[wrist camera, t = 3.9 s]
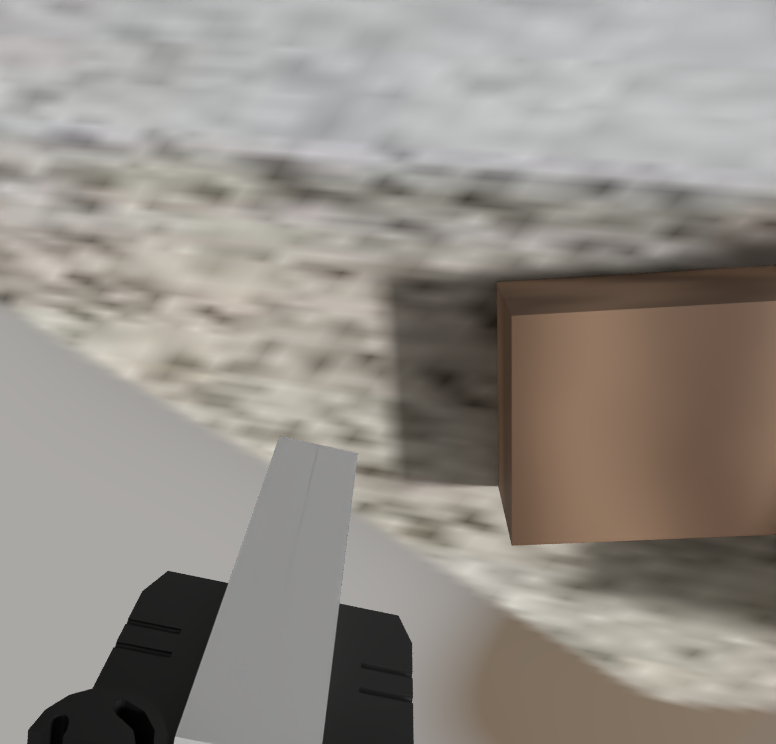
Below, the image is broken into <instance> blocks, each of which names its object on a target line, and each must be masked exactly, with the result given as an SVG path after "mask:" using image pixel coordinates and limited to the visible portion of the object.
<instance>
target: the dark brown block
mask: <svg viewBox="0 0 776 744" xmlns="http://www.w3.org/2000/svg"><path fill="white" fill-rule="evenodd" d="M497 370H498V487H499V491H500V495H501V500H502V504H503V509H504V513H505V518H506V522H507V526H508V531H509V535H510V540H511V544H512V546H513V545H537V544H561V543H585V542H610V541H634V540H658V539H682V538H706V537H730V536H755V535H776V265H772V266H755V267H738V268H721V269H704V270H687V271H671V272H654V273H637V274H620V275H603V276H586V277H570V278H553V279H536V280H519V281H502V282H497Z"/></svg>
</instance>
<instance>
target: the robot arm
mask: <svg viewBox="0 0 776 744" xmlns="http://www.w3.org/2000/svg"><path fill="white" fill-rule="evenodd" d="M357 455H358V453H354V452H349V451H345V450H340V449H336V448H331V447H327V446H322V445H317V444H313V443H308V442H304V441H299V440H295V439H290V438H286V437H281V436H280V437H279V439H278V442H277V445H276V448H275V451H274V454H273V457H272V460H271V462H270V465H269V468H268V471H267V474H266V477H265V480H264V483H263V485H262V488H261V491H260V494H259V497H258V500H257V503H256V505H255V508H254V511H253V514H252V517H251V520H250V523H249V526H248V528H247V531H246V534H245V537H244V540H243V543H242V546H241V549H240V552H239V555H238V557H237V560H236V563H235V566H234V569H233V572H232V574H231V577H230V580H229V583H225V582H220V581H215V580H210V579H205V578H200V577H195V576H190V575H186V574H181V573H176V572H171V571H167V572H166V573H165V574H164V575H162V576H161V577H160V578H158V580H156V581H155V582H153V583H152V584H151V585H150V586H148V587H147V588H146V589H145V590H144V591H142V593H141V595H140V597H139V599H138V601H137V603H136V605H135V607H134V609H133V611H132V613H131V615H130V617H129V618H128V622H127V624H125V626H124V628H123V630H122V632H121V634H120V636H119V638H118V640H117V643H116V646H115V648H113V650H112V652H111V653H110V655H109V657H108V659H107V661H106V663H105V666H104V667H103V669H102V671H101V673H100V675H99V677H98V679H97V681H96V683H95V685H94V687H93V689H89V690H86V691H82V692H78V693H75V694H71V695H69V696H67V697H65V698H64V699H62V700H60V701H59V702H57V703H55V704H54V705H53V706H50V707H49V708H47V709H46V710H45V711H44V712H43V713H42V714H41V716H40V717H39V718H38V719H37V720H36V721H35V723H34V724H33V725H32V726H31V727H30V729H29V730H28V743H27V744H414V741H413V703H412V698H413V680H412V642H411V640H410V638H409V636H408V634H407V632H406V630H405V628H404V626H403V624H402V622H401V620H400V618H399V616H397V615H393V614H388V613H383V612H378V611H373V610H368V609H363V608H358V607H353V606H348V605H344V604H339V603H340V594H341V586H342V578H343V570H344V569H343V568H344V562H345V561H344V560H345V553H346V545H347V537H348V529H349V521H350V513H351V504H352V496H353V488H354V480H355V472H356V463H357Z"/></svg>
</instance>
